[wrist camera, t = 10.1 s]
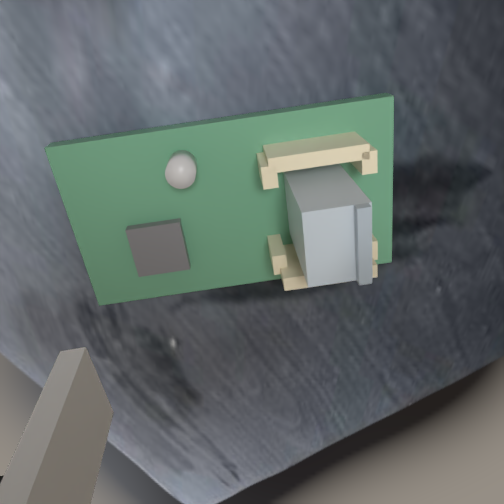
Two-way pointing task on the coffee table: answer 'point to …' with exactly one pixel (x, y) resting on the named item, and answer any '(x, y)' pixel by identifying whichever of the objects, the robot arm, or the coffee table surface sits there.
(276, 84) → the coffee table surface
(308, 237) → the plug
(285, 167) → the board
